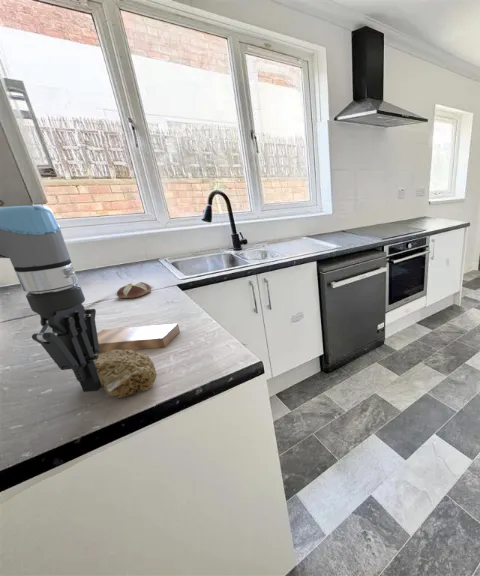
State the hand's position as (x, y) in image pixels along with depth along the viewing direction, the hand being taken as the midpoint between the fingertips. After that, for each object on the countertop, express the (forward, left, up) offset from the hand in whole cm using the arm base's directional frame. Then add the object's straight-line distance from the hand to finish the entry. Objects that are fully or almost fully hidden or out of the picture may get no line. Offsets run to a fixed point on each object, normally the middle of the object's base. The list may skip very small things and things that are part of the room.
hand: (93, 389), depth 68 cm
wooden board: (-9, +30, -4) cm, 31 cm away
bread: (-34, +78, -4) cm, 85 cm away
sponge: (0, +8, -4) cm, 9 cm away
